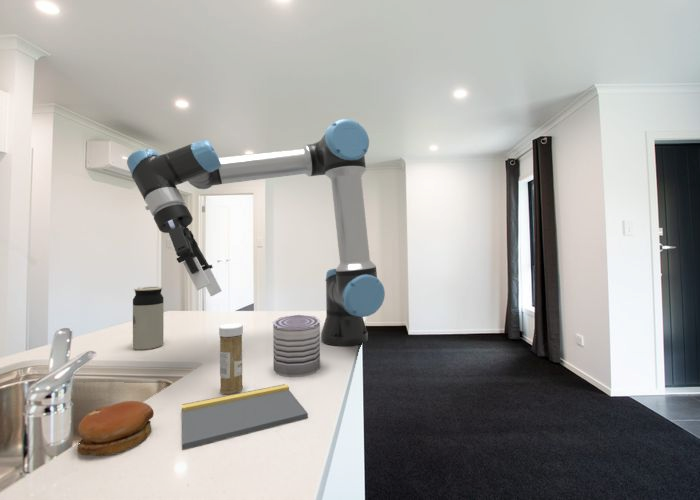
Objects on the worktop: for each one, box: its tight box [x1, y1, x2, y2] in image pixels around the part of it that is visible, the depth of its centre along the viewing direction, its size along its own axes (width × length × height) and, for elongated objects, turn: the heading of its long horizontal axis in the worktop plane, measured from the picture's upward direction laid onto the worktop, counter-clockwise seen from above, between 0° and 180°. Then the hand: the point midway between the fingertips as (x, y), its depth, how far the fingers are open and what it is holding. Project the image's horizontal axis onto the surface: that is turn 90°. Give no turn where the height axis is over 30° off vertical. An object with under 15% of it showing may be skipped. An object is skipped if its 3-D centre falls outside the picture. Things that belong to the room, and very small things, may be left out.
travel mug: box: [132, 286, 164, 351], centre depth 99 cm, size 8×8×18 cm
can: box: [271, 314, 322, 378], centre depth 79 cm, size 11×11×12 cm
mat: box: [181, 383, 309, 450], centre depth 57 cm, size 19×14×1 cm
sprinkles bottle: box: [218, 323, 244, 396], centre depth 67 cm, size 5×5×14 cm
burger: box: [76, 400, 154, 457], centre depth 50 cm, size 10×9×5 cm
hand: (210, 290), depth 74 cm, fingers open, 13 cm apart
